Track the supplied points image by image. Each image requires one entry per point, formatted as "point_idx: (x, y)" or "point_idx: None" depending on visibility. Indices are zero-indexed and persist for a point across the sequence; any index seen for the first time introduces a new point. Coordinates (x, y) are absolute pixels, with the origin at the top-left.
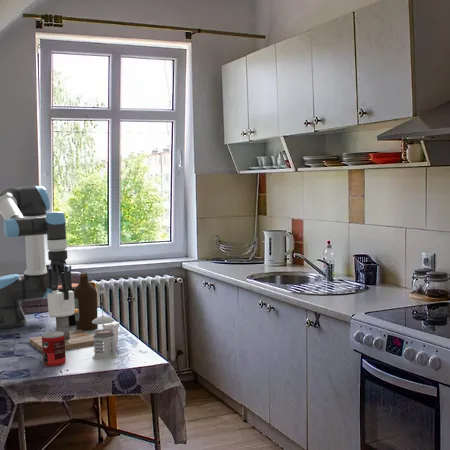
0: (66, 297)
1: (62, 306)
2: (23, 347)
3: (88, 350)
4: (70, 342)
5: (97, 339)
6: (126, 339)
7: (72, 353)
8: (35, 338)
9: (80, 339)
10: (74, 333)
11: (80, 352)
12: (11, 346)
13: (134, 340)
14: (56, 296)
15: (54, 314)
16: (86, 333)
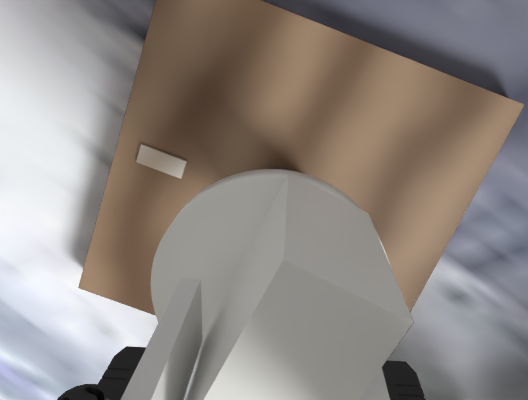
0: (109, 373)
1: (191, 288)
2: (457, 4)
3: (23, 159)
4: (145, 154)
5: None
6: (53, 390)
7: (41, 69)
8: (473, 124)
9: None
10: None
11: (22, 108)
12: None
13: (4, 391)
14: (234, 331)
15: (232, 181)
16: None
